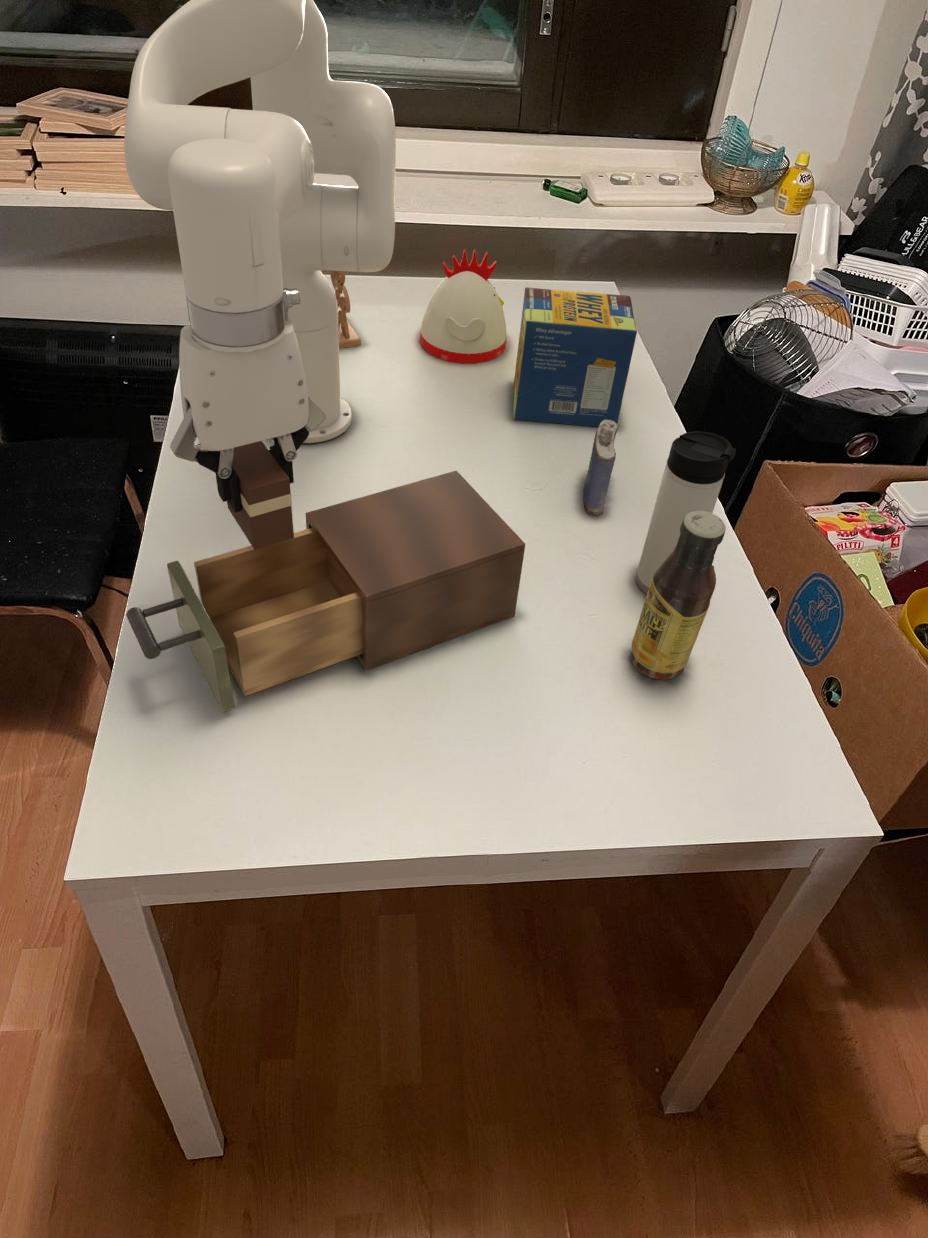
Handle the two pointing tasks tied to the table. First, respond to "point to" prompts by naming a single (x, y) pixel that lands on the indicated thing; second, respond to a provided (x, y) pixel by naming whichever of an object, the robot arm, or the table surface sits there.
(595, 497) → the flask
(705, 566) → the sauce bottle
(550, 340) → the protein box
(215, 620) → the drawer
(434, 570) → the cabinet
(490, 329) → the kitchen timer
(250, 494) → the snack box
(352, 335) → the wooden sculpture
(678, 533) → the travel mug
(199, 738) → the table surface
